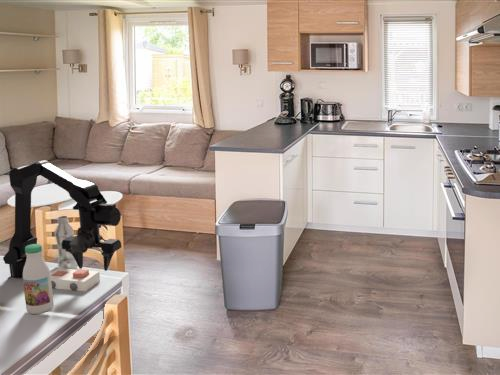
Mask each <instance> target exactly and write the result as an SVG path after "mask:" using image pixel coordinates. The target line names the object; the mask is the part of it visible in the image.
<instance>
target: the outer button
mask: <svg viewBox="0 0 500 375" xmlns="http://www.w3.org/2000/svg"><path fill="white" fill-rule="evenodd" d="M76 270H77V271H75V272H74V273H73V278H85V277H86V276H88V275H89V271H90V270H89V269H83V268H81V269H80V268H79V269H76Z"/></svg>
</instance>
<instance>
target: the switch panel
mask: <svg viewBox="0 0 500 375" xmlns="http://www.w3.org/2000/svg"><path fill="white" fill-rule="evenodd" d="M77 270H78V269H64V268H58V266H57V267H54V268H52V269H51V270H49V271H50V276H51V284H52V289H57V290H58V289H59V290H67V291H68V290H70V291H73V292H74V291H77V292H78V291H79V292H86V291H88V290H89V289H90V288H92V287H93V286H95V285H97V284H98V283H99V282H100V281H101V276H100V271H98V270H97V271H95V270H89V275H88V276H86V277H85V278H73V273H74V272H75V271H77ZM57 271H67V272H68V273H67V274H65V275H63V276H52V274H54V273H56V272H57Z"/></svg>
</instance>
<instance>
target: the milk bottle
mask: <svg viewBox="0 0 500 375" xmlns="http://www.w3.org/2000/svg"><path fill="white" fill-rule="evenodd" d="M42 246H43V245H41V244H40V243H37V244H31V245H28V246H26V247H25V252H26V255H27V259H26V263H25V266H24V269H23V278H22V283H23V291H24V292H23V293H24V299H25V300H24V301H25V310H26V311H27V314H28V313H29V314H31V315H40V314H45V313H48V312H49V311H48V310H51V309H52V308H53V307H54V306H55V305H54V294H53V288H52V284H51V276H50V271H51V270H50V267H49V265H48V264H47V262H46V261H45V259H44V256H43V254H42V253H43V247H42Z"/></svg>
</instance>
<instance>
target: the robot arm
mask: <svg viewBox="0 0 500 375" xmlns="http://www.w3.org/2000/svg"><path fill="white" fill-rule="evenodd" d="M8 175H9V176H8V177H9V184H10V188H11V189H12V190H13V192H14V233H13V235H12V237H11V239H10V241H9V246H8V250H7V252H6V253H5V255H4V256H3V258H2V260H3V262H4V264H6V265H8V266H9V275H10V276H9V277H7V280H9V279H11V278H12V279H13V278H14V279H23V269H24V266H25V263H26V259H27V255H26V252H25V247H26V246H28V245H31V244H38V237H36V236H34V235H33V234H32V231H31V229H32V228H31V225H32V192H33V190H34V189H35V186H36V184H37V180H38V176H41V177H42V178H45V179H47V180H48V181H50V182H51V183H53V184H54V185H55V186H56V185H57V186H58V187H59V188H61V189H63V190H65V191H66V192H67V193H68V195H69V197H70V199H72V200H73V201H74V202H75V203H76V204H75V205H74V206H72V209H73V210H74V211H75V210H76V211H78V216H79V227H78V228H77V234H76V235H74V236H70V237H68V238H66V239H64V240H63V241H62V243H61V246H62V249H66V250H65V251H66V252H69V253H71V254H72V255H73V257H74V258H75V260H76V262H77V267H78V268H79V269H83V264H84V254H85V253H87V252H88V249H93V248H97V249H98V248H99V249H100V250H101V251H102V252H100V255H102V257H103V259H102V260H103V268H104V271H105V272H107V271H108V269H109V267H110V264H111V261H112V258H113V256H114V254H115V252H117V251H118V250H120V249H121V248H122V242H121V240H120V239H119V238H118V239H117V238H108V239H106V240H105V241H102V240H103V236H102V235H101V234H100V229H101V228H102V226H109V227H110V226H111V227H116V226H118V225H119V223H120V221H121V217H122V215H121V214H122V213H121V212H120V210H119V208H117V206H116V203H110V204H109V203H108V201H107V200H106V198H105V197H104V195H103V194H102V193H101V191H100V190H99V187H98V185H97V184H95V183H93V182H90V181H88V180H85V179H84V180H83V179H78V178H76V177H74V176H72V175H70V174H69V173H67V172H65V171H64V170H62V169H60V168H58V167H57V166H55V165H53V164H52V163H51V162H50V161H48V160H46V159H44V160H39V161H35V162H33V163H32V164H27V165H22V166H19V167H18V166H17V167H14V168H12V169H11V170H10V171H9V174H8ZM100 235H101V236H100Z"/></svg>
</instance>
